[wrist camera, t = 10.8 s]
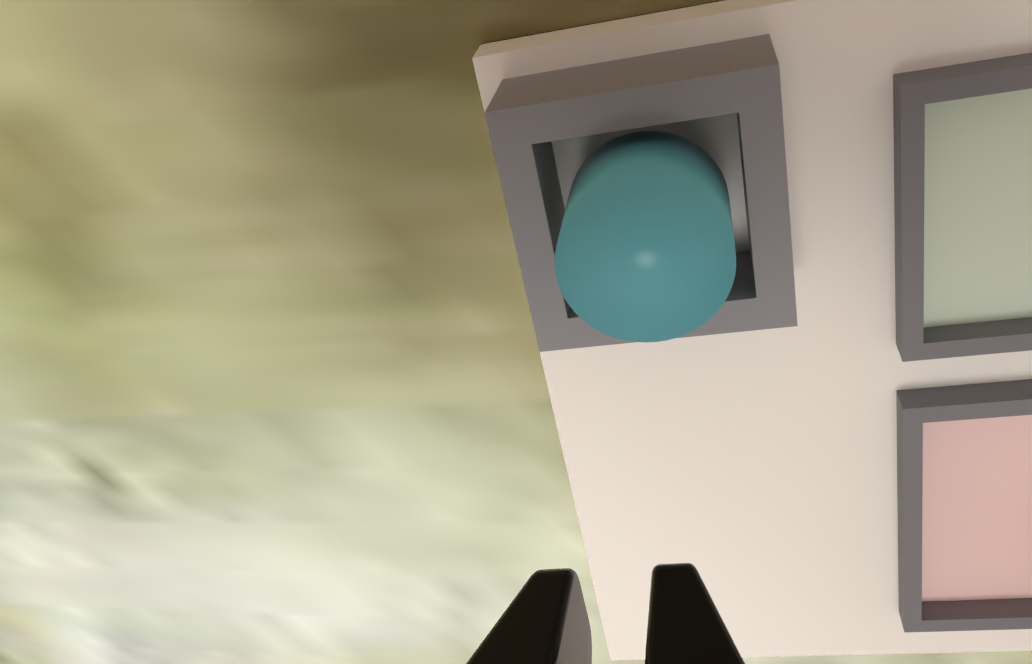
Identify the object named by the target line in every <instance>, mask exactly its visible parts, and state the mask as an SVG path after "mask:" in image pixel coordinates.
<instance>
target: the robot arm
mask: <svg viewBox="0 0 1032 664" xmlns="http://www.w3.org/2000/svg"><path fill="white" fill-rule="evenodd" d="M591 663H592V641H591V630H590V624H589V619H588V615H587V611H586V607H585V603H584V598H583V594H582V590H581V586H580V582H579V578H578V576H577V574H576V572H575V571H574V570H572V569H568V568H567V569H546V570H538V571H536V572H535V573H534V574H533V575H532V576H531V577H530V578H529V580H528V581H527V582H526V584H525V585H524V586H523V588H522V589H521V590H520V592H519V593H518V595H517V596H516V597H515V599H514V600H513V601H512V603H511V604H510V605H509V607H508V608H507V609H506V611H505V612H504V613H503V615H502V616H501V618H500V619H499V620H498V622H497V623H496V624H495V626H494V627H493V628H492V630H491V631H490V632H489V634H488V635H487V636H486V638H485V639H484V641H483V642H482V643H481V645H480V646H479V647H478V649H477V650H476V651H475V653H474V654H473V655H472V657H471V658H470V659H469V661H468V662H467V664H591ZM645 664H745V663H744V661H743V659H742V657H741V655H740V653H739V651H738V649H737V647H736V645H735V643H734V641H733V639H732V637H731V635H730V633H729V631H728V629H727V628H726V626H725V624H724V622H723V620H722V618H721V616H720V614H719V612H718V610H717V608H716V606H715V604H714V602H713V600H712V598H711V596H710V594H709V592H708V590H707V588H706V586H705V584H704V582H703V580H702V578H701V576H700V574H699V572H698V570H697V569H696V567H695V566H694V565H693V564H691V563H675V564H658V565H656V566H655V567H654V568H653V570H652V576H651V588H650V601H649V613H648V626H647V638H646V652H645Z"/></svg>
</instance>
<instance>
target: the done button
mask: <svg viewBox="0 0 1032 664" xmlns="http://www.w3.org/2000/svg"><path fill="white" fill-rule="evenodd" d="M555 272H556V278H557V281H558V285H559V288H560V290H561V292H562V294H563V296H564V298H565V300H566V301H567V303H568V305H569V306H570V307H571V308H572V310H573V311H574V312H575V313H576V314H577V315H578V316H579V317H580V318H581V319H582V320H583V321H585V322H586V323H587V324H589V325H590V326H591V327H593V328H595V329H596V330H598V331H600V332H602V333H604V334H607V335H609V336H611V337H615V338H618V339H621V340H626V341H632V342H644V343H646V342H660V341H666V340H670V339H674V338H677V337H680V336H683V335H685V334H688V333H690V332H692V331H693V330H695V329H697V328H699V327H700V326H701V325H703V324H704V323H706V322H707V321H708V320H709V319H710V318H711V317H712V316H714V315H715V314H716V312H717V311H718V310H719V309H720V308H721V306H722V305H723V303H724V302H725V300H726V299H727V297H728V295H729V293H730V290H731V288H732V285H733V282H734V278H735V272H736V251H735V242H734V234H733V225H732V216H731V208H730V199H729V193H728V187H727V184H726V181H725V178H724V176H723V174H722V172H721V170H720V168H719V167H718V165H717V164H716V162H715V161H714V160H713V159H712V158H711V156H710V155H709V154H708V153H707V152H706V151H704V150H703V149H702V148H701V147H699V146H698V145H696V144H695V143H693V142H691V141H690V140H688V139H685V138H683V137H681V136H678V135H675V134H671V133H667V132H661V131H639V132H633V133H628V134H625V135H622V136H619V137H616V138H614V139H612V140H610V141H608V142H606V143H605V144H603V145H602V146H600V147H599V148H597V149H596V150H595V151H594V152H593V153H592V154H590V155H589V156H588V158H587V159H586V160H585V161H584V162H583V164H582V165H581V167H580V168H579V170H578V171H577V173H576V175H575V178H574V180H573V183H572V186H571V189H570V193H569V197H568V201H567V205H566V209H565V213H564V217H563V221H562V225H561V229H560V233H559V237H558V241H557V245H556V252H555Z"/></svg>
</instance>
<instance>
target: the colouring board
mask: <svg viewBox="0 0 1032 664" xmlns="http://www.w3.org/2000/svg"><path fill="white" fill-rule="evenodd" d="M472 61H473V65H474V69H475V74H476V78H477V82H478V87H479V91H480V95H481V100H482V104H483V108H484V113H485V117H486V121H487V126H488V130H489V134H490V139H491V143H492V147H493V152H494V156H495V160H496V165H497V169H498V173H499V178H500V182H501V186H502V191H503V195H504V199H505V204H506V208H507V212H508V217H509V221H510V225H511V230H512V234H513V238H514V243H515V247H516V251H517V256H518V260H519V264H520V269H521V273H522V278H523V282H524V286H525V291H526V295H527V299H528V304H529V308H530V312H531V317H532V321H533V325H534V330H535V334H536V338H537V343H538V347H539V351H540V356H541V360H542V364H543V369H544V373H545V377H546V382H547V386H548V390H549V395H550V399H551V403H552V408H553V412H554V416H555V421H556V425H557V429H558V434H559V438H560V442H561V447H562V451H563V455H564V460H565V464H566V468H567V473H568V477H569V481H570V486H571V490H572V494H573V499H574V503H575V507H576V512H577V516H578V520H579V525H580V529H581V533H582V538H583V542H584V547H585V551H586V555H587V560H588V564H589V568H590V573H591V577H592V581H593V586H594V590H595V594H596V599H597V603H598V607H599V612H600V616H601V620H602V625H603V629H604V633H605V638H606V642H607V646H608V651H609V655H610V659H611V660H645V652H646V638H647V626H648V613H649V601H650V588H651V576H652V570H653V568H654V567H655V566H656V565H658V564H675V563H691V564H693V565H694V566H695V567H696V569H697V570H698V572H699V574H700V576H701V578H702V580H703V582H704V584H705V586H706V588H707V590H708V592H709V594H710V596H711V598H712V600H713V602H714V604H715V606H716V608H717V610H718V612H719V614H720V616H721V618H722V620H723V622H724V624H725V626H726V628H727V629H728V631H729V633H730V635H731V637H732V639H733V641H734V643H735V645H736V647H737V649H738V651H739V653H740V655H741V657H781V656H826V655H871V654H916V653H961V652H1006V651H1032V0H725V1H719V2H713V3H708V4H702V5H697V6H691V7H686V8H680V9H675V10H669V11H664V12H658V13H652V14H647V15H641V16H636V17H630V18H625V19H619V20H614V21H608V22H603V23H597V24H591V25H586V26H580V27H575V28H569V29H564V30H558V31H553V32H547V33H542V34H536V35H530V36H525V37H519V38H514V39H508V40H503V41H497V42H492V43H486V44H481V45H480V47H479V48H478V50H477V51H476V53H475V54H474V56H473V57H472ZM639 131H661V132H667V133H671V134H675V135H678V136H681V137H683V138H685V139H688V140H690V141H691V142H693V143H695V144H696V145H698V146H699V147H701V148H702V149H703V150H704V151H706V152H707V153H708V154H709V155H710V156H711V158H712V159H713V160H714V161H715V162H716V164H717V165H718V167H719V168H720V170H721V172H722V174H723V176H724V178H725V181H726V184H727V187H728V193H729V199H730V208H731V216H732V225H733V234H734V242H735V251H736V272H735V278H734V282H733V285H732V288H731V290H730V293H729V295H728V297H727V299H726V300H725V302H724V303H723V305H722V306H721V308H720V309H719V310H718V311H717V312H716V314H715V315H714V316H712V317H711V318H710V319H709V320H708V321H707V322H706V323H704V324H703V325H701V326H700V327H699V328H697V329H695V330H693V331H692V332H690V333H688V334H685V335H683V336H680V337H677V338H674V339H670V340H666V341H660V342H646V343H644V342H632V341H626V340H621V339H618V338H615V337H611V336H609V335H607V334H604V333H602V332H600V331H598V330H596V329H595V328H593V327H591V326H590V325H589V324H587V323H586V322H585V321H583V320H582V319H581V318H580V317H579V316H578V315H577V314H576V313H575V312H574V311H573V310H572V308H571V307H570V306H569V305H568V303H567V301H566V300H565V298H564V296H563V294H562V292H561V290H560V288H559V285H558V281H557V278H556V272H555V252H556V245H557V241H558V237H559V233H560V229H561V225H562V221H563V217H564V213H565V209H566V205H567V201H568V197H569V193H570V189H571V186H572V183H573V180H574V178H575V175H576V173H577V171H578V170H579V168H580V167H581V165H582V164H583V162H584V161H585V160H586V159H587V158H588V156H589V155H590V154H592V153H593V152H594V151H595V150H596V149H597V148H599V147H600V146H602V145H603V144H605V143H606V142H608V141H610V140H612V139H614V138H616V137H619V136H622V135H625V134H628V133H633V132H639Z"/></svg>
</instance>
